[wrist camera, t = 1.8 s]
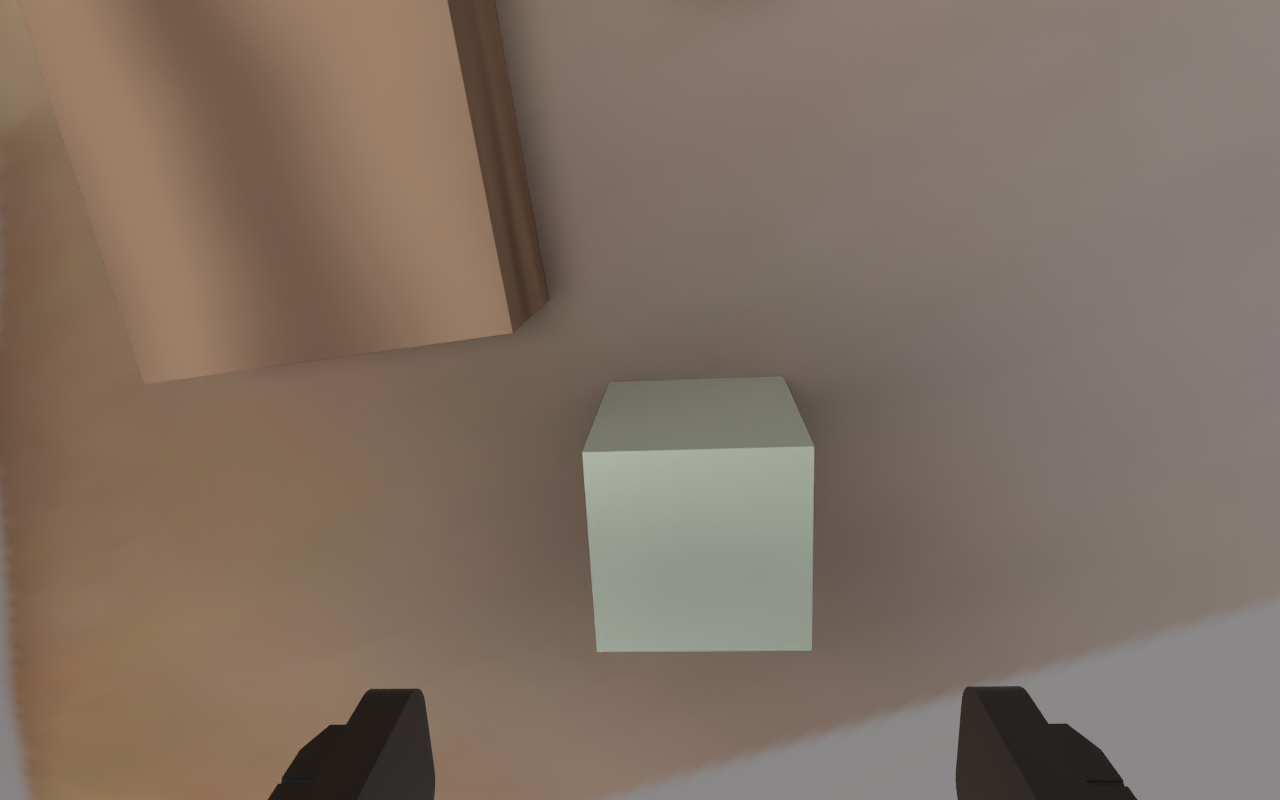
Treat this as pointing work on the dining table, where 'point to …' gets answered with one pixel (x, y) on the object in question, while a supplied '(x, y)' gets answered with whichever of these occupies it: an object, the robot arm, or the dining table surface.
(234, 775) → the dining table surface
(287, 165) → the walnut block
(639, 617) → the sage cube
